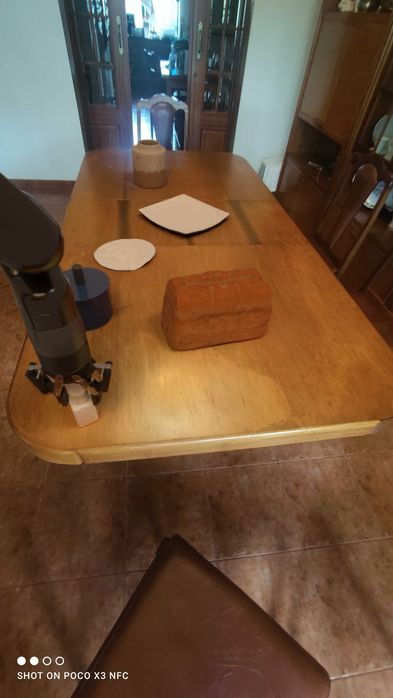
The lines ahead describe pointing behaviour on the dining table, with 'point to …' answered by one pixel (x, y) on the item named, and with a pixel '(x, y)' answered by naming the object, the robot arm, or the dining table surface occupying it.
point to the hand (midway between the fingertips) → (81, 401)
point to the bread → (215, 308)
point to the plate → (184, 215)
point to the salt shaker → (82, 405)
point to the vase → (149, 164)
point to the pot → (96, 311)
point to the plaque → (124, 254)
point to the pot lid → (87, 282)
